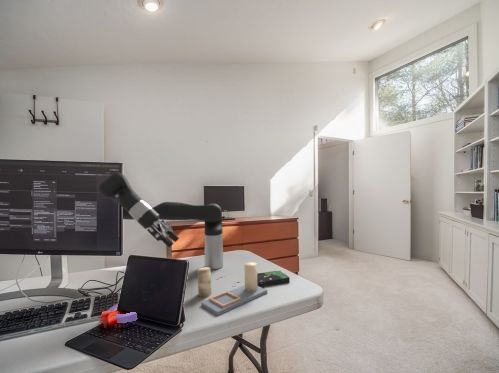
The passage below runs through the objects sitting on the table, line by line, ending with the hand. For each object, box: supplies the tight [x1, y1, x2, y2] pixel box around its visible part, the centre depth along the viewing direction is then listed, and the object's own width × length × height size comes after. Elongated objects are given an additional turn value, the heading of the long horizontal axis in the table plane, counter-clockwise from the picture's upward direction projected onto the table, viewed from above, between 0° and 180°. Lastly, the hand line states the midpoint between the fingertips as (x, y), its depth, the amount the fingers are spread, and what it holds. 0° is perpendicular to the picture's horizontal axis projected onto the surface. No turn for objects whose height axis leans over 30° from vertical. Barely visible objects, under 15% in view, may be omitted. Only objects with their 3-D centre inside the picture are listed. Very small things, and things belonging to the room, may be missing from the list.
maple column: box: [197, 266, 212, 298], centre depth 101 cm, size 5×5×10 cm
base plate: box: [200, 262, 268, 316], centre depth 96 cm, size 10×24×11 cm, turn 133°
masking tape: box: [107, 303, 138, 323], centre depth 84 cm, size 12×12×4 cm
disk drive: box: [257, 270, 291, 288], centre depth 113 cm, size 10×3×15 cm
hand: (174, 242), depth 100 cm, fingers open, 8 cm apart
